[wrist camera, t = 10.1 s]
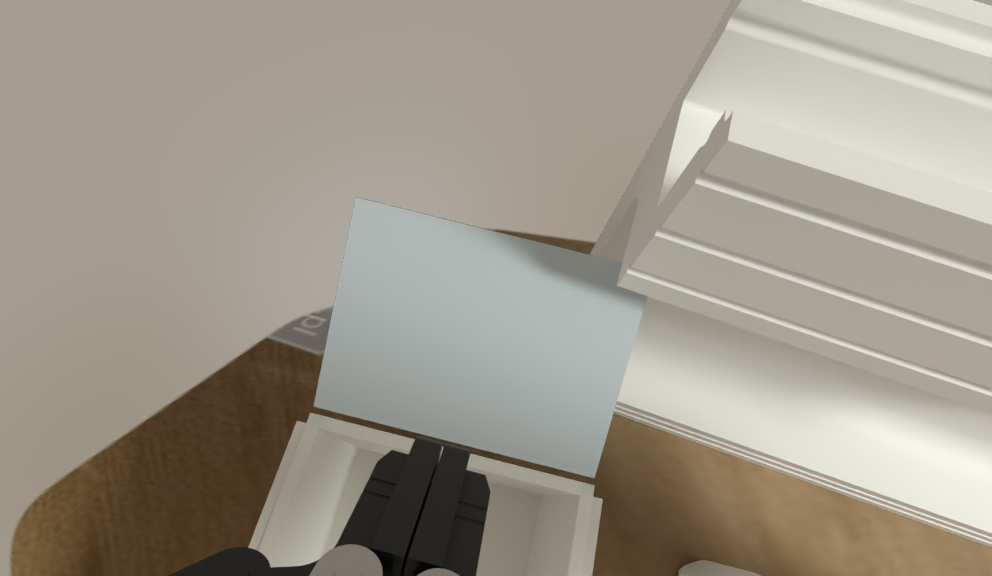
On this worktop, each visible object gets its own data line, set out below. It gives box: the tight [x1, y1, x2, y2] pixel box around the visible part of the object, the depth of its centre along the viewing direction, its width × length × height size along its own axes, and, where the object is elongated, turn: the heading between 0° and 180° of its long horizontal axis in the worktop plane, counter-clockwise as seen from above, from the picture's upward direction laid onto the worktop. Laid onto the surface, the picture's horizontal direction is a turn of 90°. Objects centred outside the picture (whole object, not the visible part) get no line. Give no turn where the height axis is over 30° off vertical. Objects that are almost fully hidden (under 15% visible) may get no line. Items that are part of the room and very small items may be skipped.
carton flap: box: [313, 197, 647, 478], centre depth 23 cm, size 10×14×1 cm
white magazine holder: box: [590, 0, 992, 548], centre depth 25 cm, size 35×8×28 cm, turn 71°
